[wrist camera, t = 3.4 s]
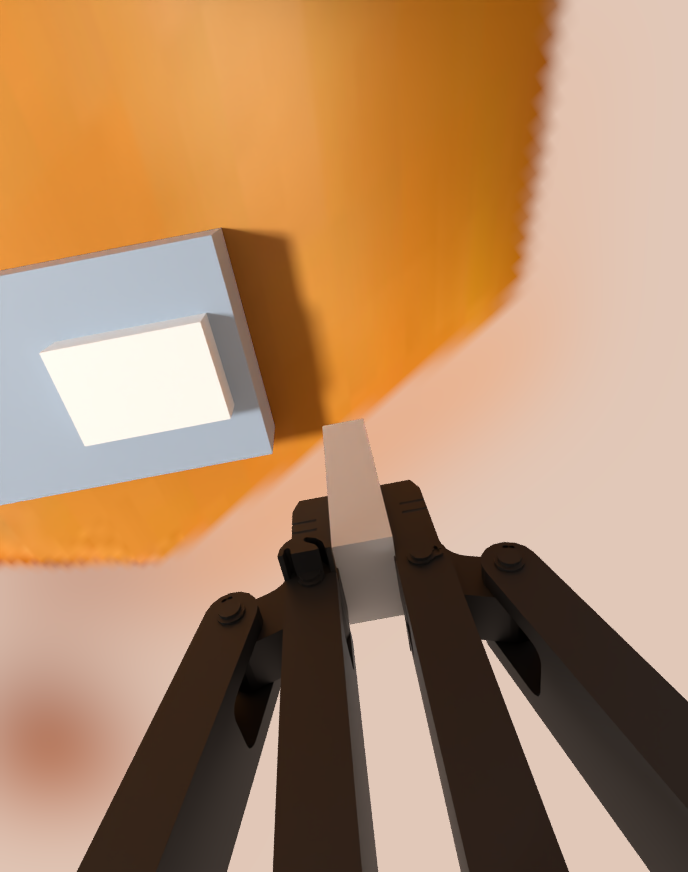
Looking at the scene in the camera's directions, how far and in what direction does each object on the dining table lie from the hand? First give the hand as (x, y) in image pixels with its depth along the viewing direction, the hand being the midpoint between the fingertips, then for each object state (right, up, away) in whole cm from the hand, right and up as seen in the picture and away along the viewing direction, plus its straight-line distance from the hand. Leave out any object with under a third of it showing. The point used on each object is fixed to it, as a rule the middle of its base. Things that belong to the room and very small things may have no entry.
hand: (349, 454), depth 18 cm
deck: (-17, +5, +15) cm, 24 cm away
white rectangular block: (-12, +4, +12) cm, 18 cm away
